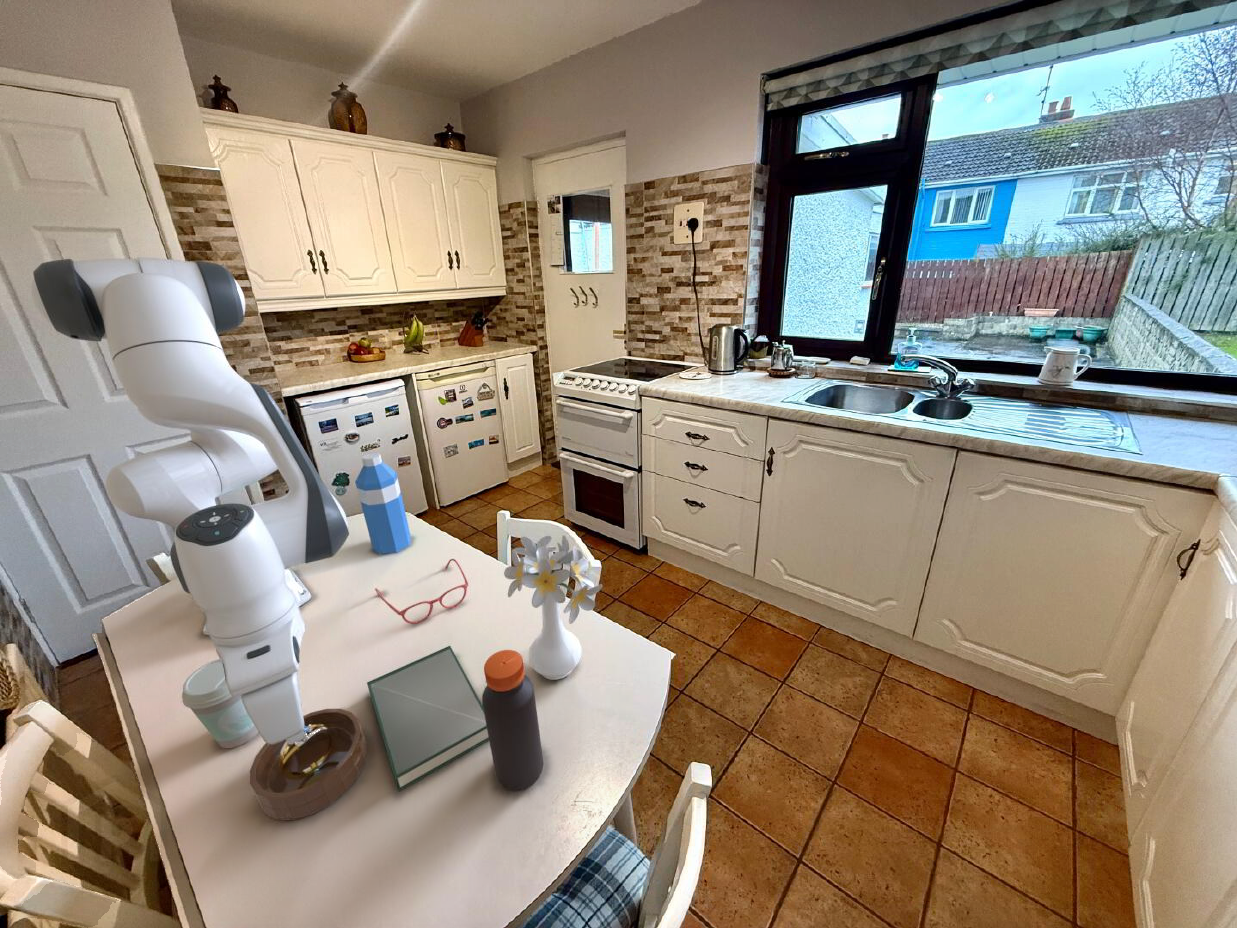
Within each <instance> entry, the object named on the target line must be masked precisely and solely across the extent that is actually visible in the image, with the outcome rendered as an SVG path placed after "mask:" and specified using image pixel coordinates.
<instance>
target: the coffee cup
mask: <svg viewBox="0 0 1237 928" xmlns="http://www.w3.org/2000/svg"><path fill="white" fill-rule="evenodd" d="M181 700H182V704H183V706H185V707H186V708H188V709H190V710H191V712H192V713H193V714H194V715H195V717H196V718H197V719H198V720H199V721H200V722H201V724H202V725H203V727H204V728H205V729H206V730H207V732H208V733H209V735H211V737H212V738H213V739H214V740H215V742H216V743H217V745H219V747H220V748H223V749H234V748H237V747H240V746H242V745H244V744H246V743H247V742H249V741H250V740H252V739H253V738H254V737H256V735H258V734H259V732H258V730H257V729H256V727H255V725H254V724H253V722H252V720H251V719H250V717H249V715H248V713H247V711H246V709H245V707H244V705H243V702H242V700H241V696H237V697H233V696H232V695H231V694H230V692H229V690H228V687H227V683H226V679H225V673H224V668H223V665H222V663H221V661H220V659H219V658H217V659H214V660H212V661H210V662H207V663H205V664H204V665H202V666H200V667H199V668H198V669H196V670H195V671H193V672H192V673H191V674H190V675H189V676H188V677H187V678H186V680H185V681H184V683H183V685H182V693H181Z"/></svg>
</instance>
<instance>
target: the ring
mask: <svg viewBox="0 0 1237 928" xmlns="http://www.w3.org/2000/svg"><path fill="white" fill-rule="evenodd" d="M303 730H304V738H303V739H302V740H300V741H298V742H296V743H294V744H295V745H296V746H295V747H294V748H293V749H292V750H291V751H290V752H289V753H288V754H287V751H288V749H289V747H292V746H293V745H294V744H288V743H287V741H286V742H285V744H284V746H283V747H282V750H281V752H280V756H279V768H280V770H281V773H282V774H283V776H284V777H285V778H287V779H290V780H296V779H301V778H304V777H306V776H308V775H310V774H312V773H316V772H318V771H319V770H320V768H321V767H322V766H323V765H324V764H325V763H326V762H327V761H328V760H329V758H330V757H331V755H332V754H333V752H334V749H335V746H336V736H335V734H334V733H333V731H332V730H331V729H330V728H329V727H328V726H326V725H322V724H316V725H309V726H304V729H303ZM309 733H310V734H309ZM319 733H326V734H327V735H328V737H329V745H328V748H327V751H326V752H325V754H324V755H323V757H322V758H321V759H320V760H319V761H318V762H314V763H313V764H311V765H310V767H309V768H307V769H305V770H302V771H299V772H291V771H288V766H289V763H290V761H291V759H292V758H293V756H294V755H295V754H296V752H297V751H298V750H299V749H300V747H301V746H302V745H303V744H305V743H306V742H307V741H309V740H310V739H311V738H312V737H314V736H315V735H317V734H319ZM308 734H309V735H308ZM286 754H287V755H286Z"/></svg>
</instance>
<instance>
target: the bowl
mask: <svg viewBox="0 0 1237 928" xmlns="http://www.w3.org/2000/svg"><path fill="white" fill-rule="evenodd" d="M303 718H304V726H309V725H316V724H322V725H326V726H328V727H329V728H330V729H331V730H332V731H333V733H334V734H335V736H336V746H335V749H334V752H333V754H332V755H331V757H330V758H329V760H328V761H327V762H326V763H325V764H324V765H323V766H322V767H321V768H320V770H319V771H318V772H316V773H312V774H310V775H308V776H306V777H304V778H301V779H296V780H290V779H287V778H285V777H284V776H283V774H282V773H281V770H280V768H279V756H280V752H281V750H282V747H283V746H284V744H285V742H286V740H284V741H281V742H279V743H277V744H274V745H271V744H268V743H266V742H264V744H263V746H262V747H261V749H260V750H259V751H258V752H257V753H256V755H255V757H254V759H253V761H252V764H251V766H250V769H249V785H250V787H251V790H252V792H253V794H254V796H255V798H256V800H257V801H258V804H259V806H260V808H261V809H262V810H263V812H264V814H265V815H267V816H269V817H271V818H273V819H275V820H279V821H281V820H282V821H286V820H297V819H301V818H304V817H307V816H308V817H309V816H311V815H313V814H316V813H317V812H319V811H321V810H322V809H325V808H326V807H328V806H330V805H332V804H333V802H335V801H337V799H339V798H340V797H341V796H342V795H343V794H344V793H346V792H347V791H348V790H349V789H350V787H352V785H353V784H354V782H356V780H357V779H358V778H359V776H360V774H361V773H362V770H363V768H364V766H365V764H366V762H367V761H366V760H367V757H368V756H367V755H368V745H367V740H366V738H365V735H364V731H363V729H362V726H361V722H360V720H359V718H358V717H357V716H356V715H355V714H354V713H353V712H352V711H349V710H346V709H344V708H324V709H319V710H316V711H311V712H309V713H306V714H305V715H303ZM309 734H310V733H309ZM309 734H308V735H309ZM328 745H329V737H328V735H327V734H326V733H319V734H317V735H315V736H314V737H312V738H311V739H310V740H309V741H307V742H306V743H305V744H303V745H302V746H301V747H300V749H299V750H298V751H297V752H296V754H295V755H294V756H293V758H292V759H291V761H290V763H289V766H288V771H291V772H299V771H302V770H305V769H307V768H309V767H310V765H311V764H313V763H314V762H318V761H319V760H320V759H321V758H322V757H323V755H324V754H325V752H326V751H327V748H328ZM295 746H296V745H295V744H294V745H293V746H292V747H289V749H288V751H287V754H288V753H289V752H290V751H291V750H292V749H293V748H294V747H295ZM287 754H286V755H287Z"/></svg>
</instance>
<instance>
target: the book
mask: <svg viewBox="0 0 1237 928" xmlns="http://www.w3.org/2000/svg"><path fill="white" fill-rule="evenodd" d="M366 684H367V688H368V691H369V694H370V699H371V702H372V706H373V708H374V713H375V716H376V719H377V722H378V726H379V729H380V733H381V736H382V739H383V743H384V746H385V750H386V753H387V757H388V760H389V763H390V767H391V771H392V773H393V776H394V780H395V784H396V787H397V790H398V792H401V791H403V790H404V789H406V788H408V787H411V785H413V784H415V783H417V782H418V781H420V780H423V779H424V778H425V777H427V776H429V775H430V774H432V773H434V772H436V771H438V770H440V769H441V768H443V767H444V766H447V765H448V764H450V763H452V762H453V761H455V760H457V759H459V758H461V757H462V756H464V755H466V754H467V753H469V752H471V751H472V750H474V749H476V748H478V747H479V746H482V745H484V744H485V743H487V742H489V737H488V732H487V726H486V721H485V716H484V710H483V705H482V701H481V700H480V698H479V696H478V694H477V693H476V691H475V688H474V687H473V685H472V683H471V681H470V679H469V678H468V676H467V674H466V672H465V670H464V669H463V667H462V665H461V663H460V661H459V659H458V657H457V656H456V654H455V652H454V650H453V648H452V645H448V646H446V647H444V648H441V649H438V650H437V651H434V652H432V653H430V654H428V655H426V656H423V657H421V658H419V659H416V660H414V661H412V662H410V663H408V664H405V665H403V666H400V667H399V668H397V669H394V670H392V671H390V672H387V673H385V674H383V675H380V676H379V677H376V678H374V679H372V680H369V681H367V682H366Z"/></svg>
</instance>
